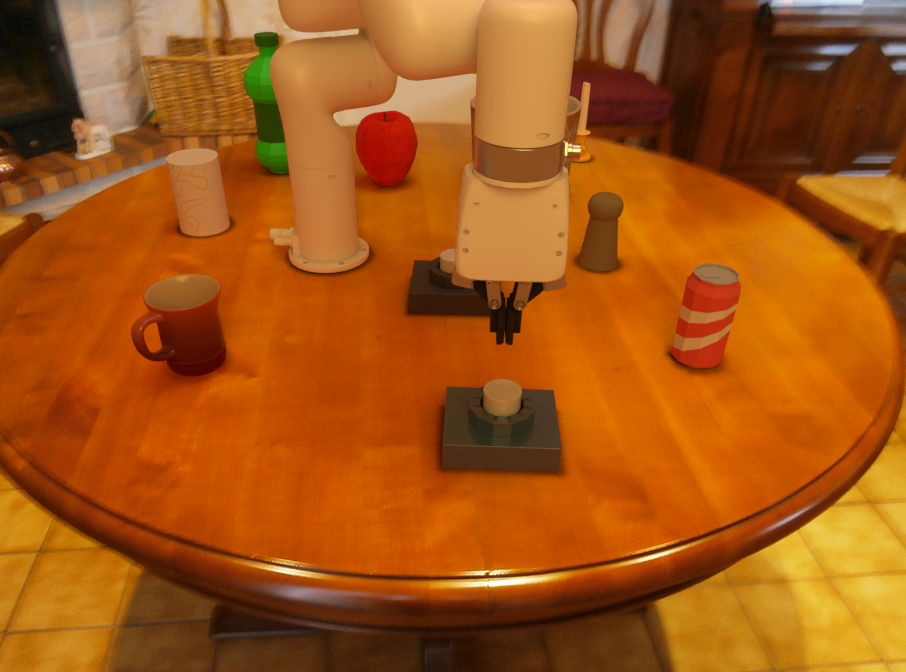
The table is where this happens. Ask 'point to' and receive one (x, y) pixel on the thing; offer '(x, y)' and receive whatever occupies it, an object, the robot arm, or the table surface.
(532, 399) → the front button base
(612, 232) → the pawn
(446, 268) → the push button
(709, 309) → the beverage can
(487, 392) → the beige push button
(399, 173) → the apple
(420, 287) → the dark brown button base
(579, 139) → the candle
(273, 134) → the plastic bottle
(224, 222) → the cup
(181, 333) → the mug
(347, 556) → the table surface
